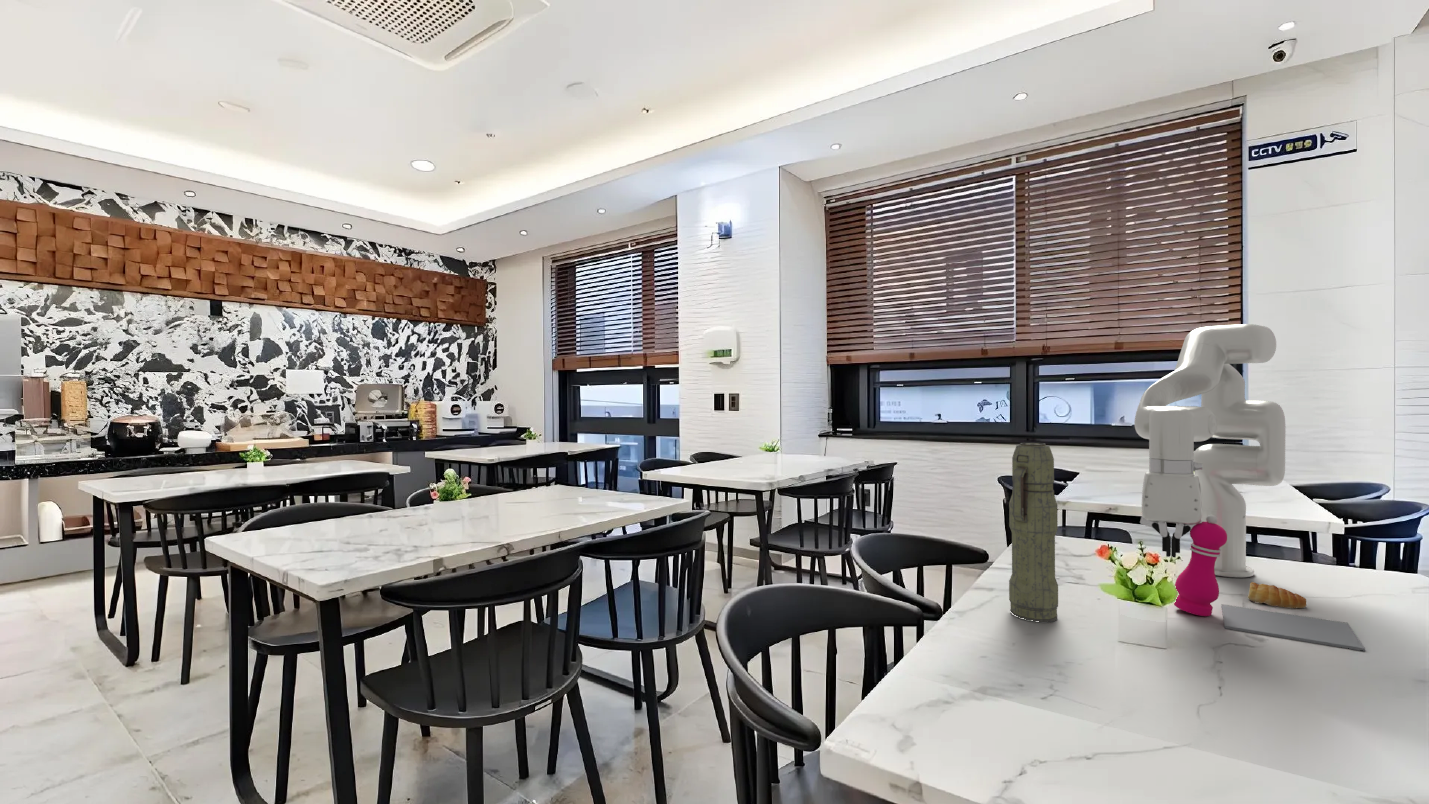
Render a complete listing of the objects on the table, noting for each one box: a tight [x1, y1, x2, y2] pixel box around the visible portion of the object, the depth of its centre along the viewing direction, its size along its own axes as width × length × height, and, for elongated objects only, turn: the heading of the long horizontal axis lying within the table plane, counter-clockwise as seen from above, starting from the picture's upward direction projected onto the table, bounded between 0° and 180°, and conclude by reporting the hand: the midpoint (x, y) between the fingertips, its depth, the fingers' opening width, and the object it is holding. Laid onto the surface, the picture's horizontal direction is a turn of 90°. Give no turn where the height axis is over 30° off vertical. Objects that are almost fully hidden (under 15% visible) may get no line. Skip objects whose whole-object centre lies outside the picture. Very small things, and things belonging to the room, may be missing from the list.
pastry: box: [1247, 581, 1307, 609], centre depth 136 cm, size 9×7×4 cm
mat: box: [1221, 603, 1366, 652], centre depth 123 cm, size 15×19×1 cm
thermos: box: [1008, 442, 1059, 623], centre depth 130 cm, size 9×12×35 cm
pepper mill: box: [1173, 515, 1227, 617], centre depth 130 cm, size 7×7×20 cm
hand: (1171, 555), depth 133 cm, fingers closed
